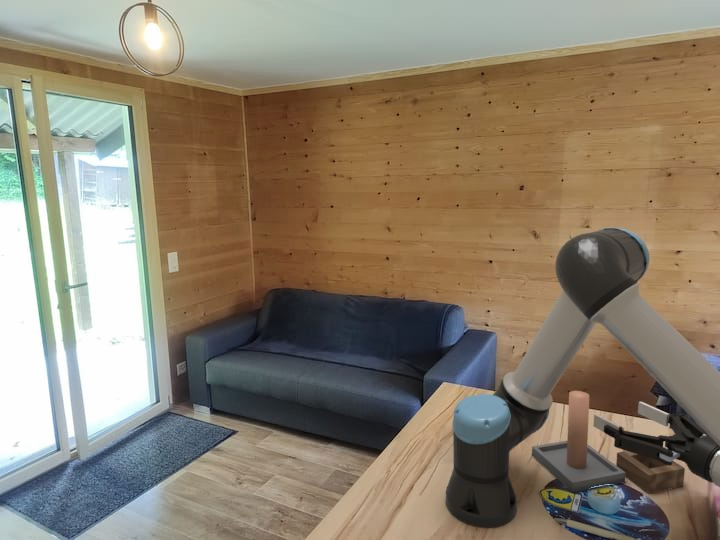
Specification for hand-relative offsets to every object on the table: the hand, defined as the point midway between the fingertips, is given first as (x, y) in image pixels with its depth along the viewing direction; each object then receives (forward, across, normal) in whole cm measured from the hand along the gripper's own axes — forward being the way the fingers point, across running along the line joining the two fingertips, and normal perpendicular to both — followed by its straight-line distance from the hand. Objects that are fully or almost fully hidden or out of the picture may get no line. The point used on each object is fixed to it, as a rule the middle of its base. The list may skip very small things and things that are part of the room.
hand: (617, 413), depth 105 cm
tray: (+10, 0, -19) cm, 22 cm away
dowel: (+10, 0, -18) cm, 20 cm away
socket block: (0, +12, -19) cm, 22 cm away
